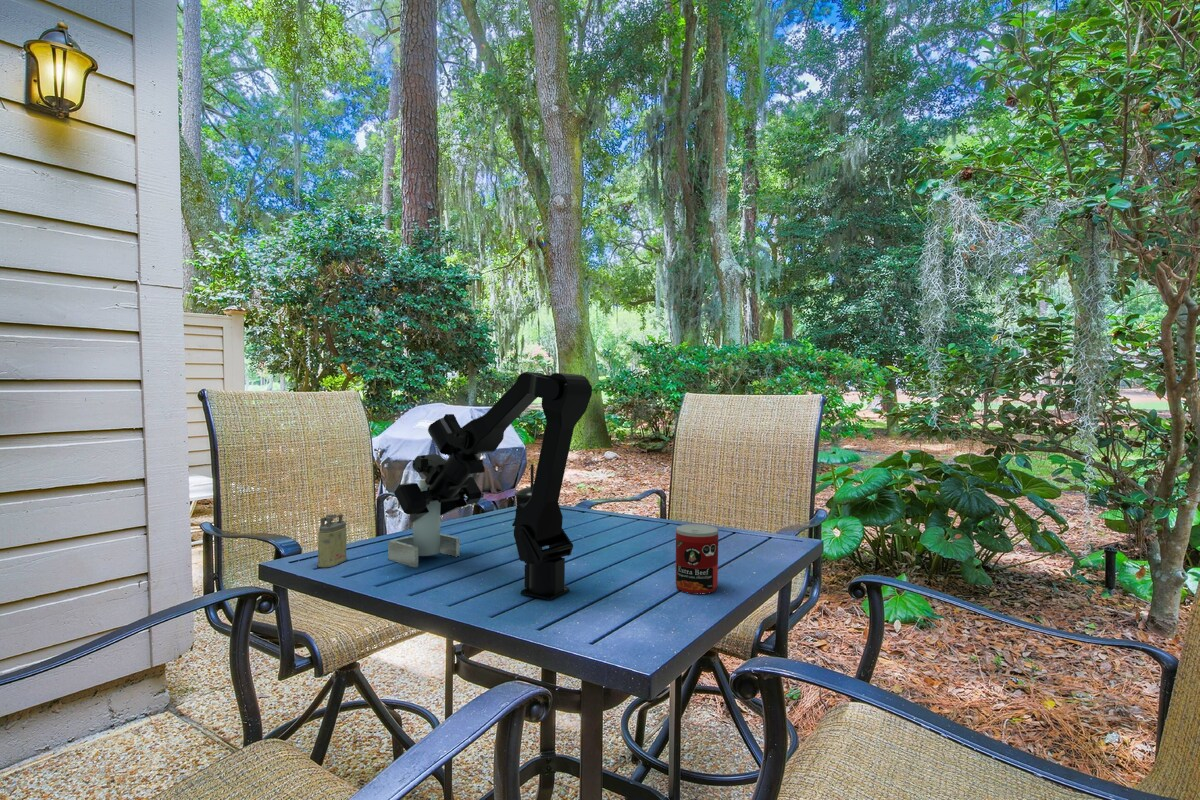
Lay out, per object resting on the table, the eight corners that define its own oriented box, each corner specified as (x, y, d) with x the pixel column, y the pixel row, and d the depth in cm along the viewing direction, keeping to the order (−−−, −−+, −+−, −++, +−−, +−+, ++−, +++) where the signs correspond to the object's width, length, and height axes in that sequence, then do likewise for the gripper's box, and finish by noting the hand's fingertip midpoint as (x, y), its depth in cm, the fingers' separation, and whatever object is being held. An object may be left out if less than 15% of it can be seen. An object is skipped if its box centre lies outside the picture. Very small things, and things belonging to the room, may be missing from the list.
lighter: (335, 558, 124) (335, 511, 124) (351, 559, 124) (352, 512, 124) (313, 567, 117) (314, 518, 117) (330, 568, 117) (331, 518, 117)
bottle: (444, 552, 125) (445, 480, 125) (419, 557, 121) (420, 482, 121) (432, 547, 129) (433, 477, 129) (408, 552, 125) (409, 479, 125)
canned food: (670, 591, 105) (671, 531, 105) (681, 579, 112) (681, 522, 113) (713, 597, 102) (713, 535, 102) (721, 584, 110) (721, 526, 110)
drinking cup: (551, 550, 133) (552, 462, 133) (544, 559, 126) (545, 466, 126) (518, 549, 134) (519, 462, 134) (510, 557, 126) (511, 465, 127)
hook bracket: (462, 555, 128) (463, 523, 128) (414, 567, 118) (414, 533, 118) (435, 548, 134) (435, 517, 134) (386, 559, 124) (387, 526, 124)
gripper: (473, 440, 130) (442, 485, 137) (399, 444, 115) (369, 494, 122) (497, 478, 125) (463, 523, 132) (423, 487, 111) (389, 537, 117)
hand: (423, 518), depth 126 cm, fingers closed on bottle, 6 cm apart
